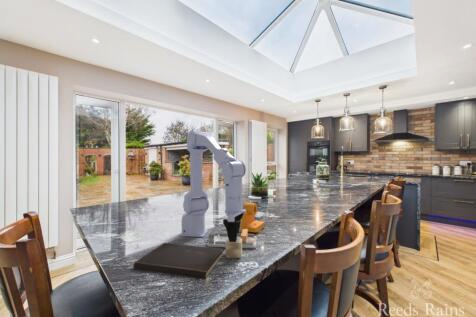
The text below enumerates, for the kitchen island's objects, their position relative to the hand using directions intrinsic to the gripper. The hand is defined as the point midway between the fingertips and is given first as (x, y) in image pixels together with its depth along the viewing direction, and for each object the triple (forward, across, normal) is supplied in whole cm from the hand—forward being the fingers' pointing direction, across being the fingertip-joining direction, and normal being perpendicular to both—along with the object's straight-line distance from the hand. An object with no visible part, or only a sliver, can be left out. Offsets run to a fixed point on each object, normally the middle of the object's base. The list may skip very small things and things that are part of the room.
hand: (234, 237), depth 75 cm
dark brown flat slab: (+7, -6, +16) cm, 18 cm away
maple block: (+6, 0, 0) cm, 6 cm away
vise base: (+6, +11, +2) cm, 13 cm away
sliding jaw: (+5, +11, -2) cm, 12 cm away
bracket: (+6, +27, -5) cm, 28 cm away
